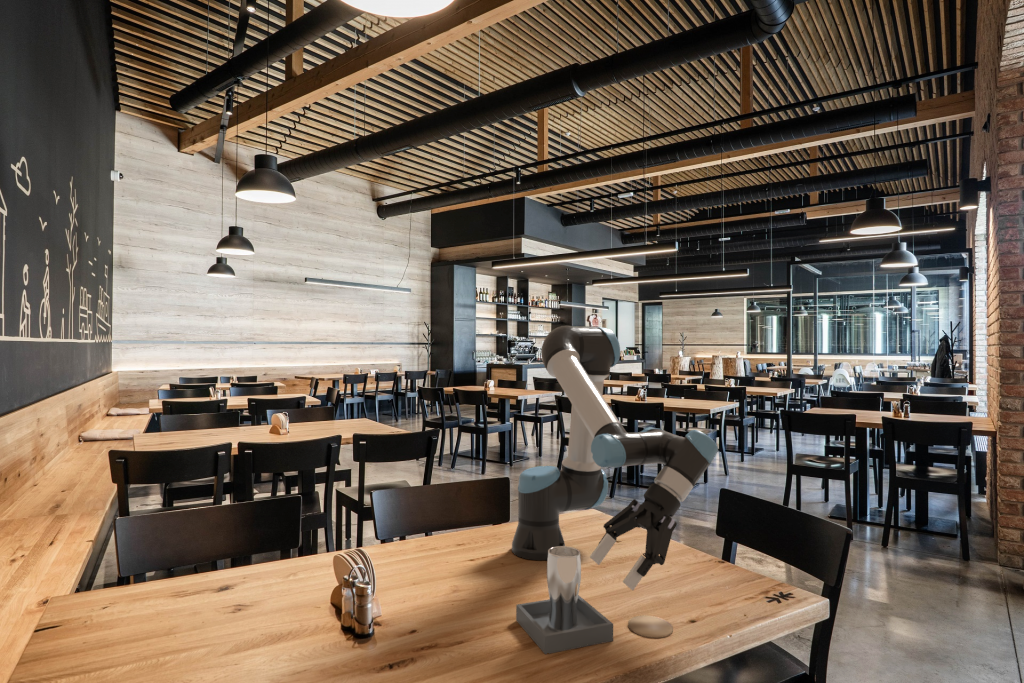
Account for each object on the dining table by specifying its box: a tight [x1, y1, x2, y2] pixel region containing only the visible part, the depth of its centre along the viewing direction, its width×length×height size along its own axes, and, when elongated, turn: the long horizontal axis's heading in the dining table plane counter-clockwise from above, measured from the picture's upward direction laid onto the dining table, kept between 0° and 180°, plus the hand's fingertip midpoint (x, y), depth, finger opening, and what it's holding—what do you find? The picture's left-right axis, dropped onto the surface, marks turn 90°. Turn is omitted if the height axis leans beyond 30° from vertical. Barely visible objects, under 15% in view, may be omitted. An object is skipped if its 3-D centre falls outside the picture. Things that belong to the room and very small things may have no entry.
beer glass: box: [546, 545, 582, 632], centre depth 117 cm, size 7×7×15 cm
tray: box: [515, 594, 614, 655], centre depth 116 cm, size 15×15×3 cm
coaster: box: [627, 614, 674, 639], centre depth 118 cm, size 9×9×1 cm
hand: (609, 573), depth 121 cm, fingers open, 13 cm apart
